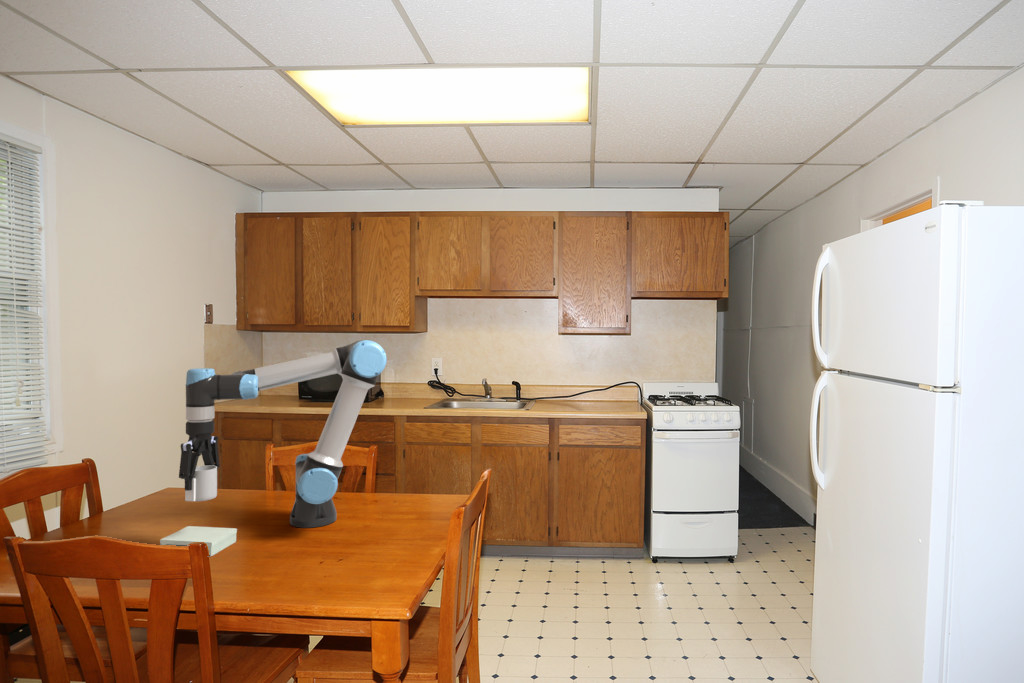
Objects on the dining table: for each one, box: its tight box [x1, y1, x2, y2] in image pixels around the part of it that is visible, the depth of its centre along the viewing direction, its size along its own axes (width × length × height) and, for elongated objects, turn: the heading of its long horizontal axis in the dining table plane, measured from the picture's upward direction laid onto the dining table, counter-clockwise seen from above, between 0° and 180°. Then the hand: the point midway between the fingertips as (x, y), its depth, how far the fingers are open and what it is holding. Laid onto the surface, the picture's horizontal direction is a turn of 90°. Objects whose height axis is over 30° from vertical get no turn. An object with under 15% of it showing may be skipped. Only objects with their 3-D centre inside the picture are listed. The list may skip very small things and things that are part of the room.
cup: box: [194, 465, 218, 502], centre depth 170 cm, size 7×10×9 cm
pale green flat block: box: [159, 525, 238, 557], centre depth 169 cm, size 16×12×4 cm
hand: (199, 496), depth 169 cm, fingers closed on cup, 7 cm apart
